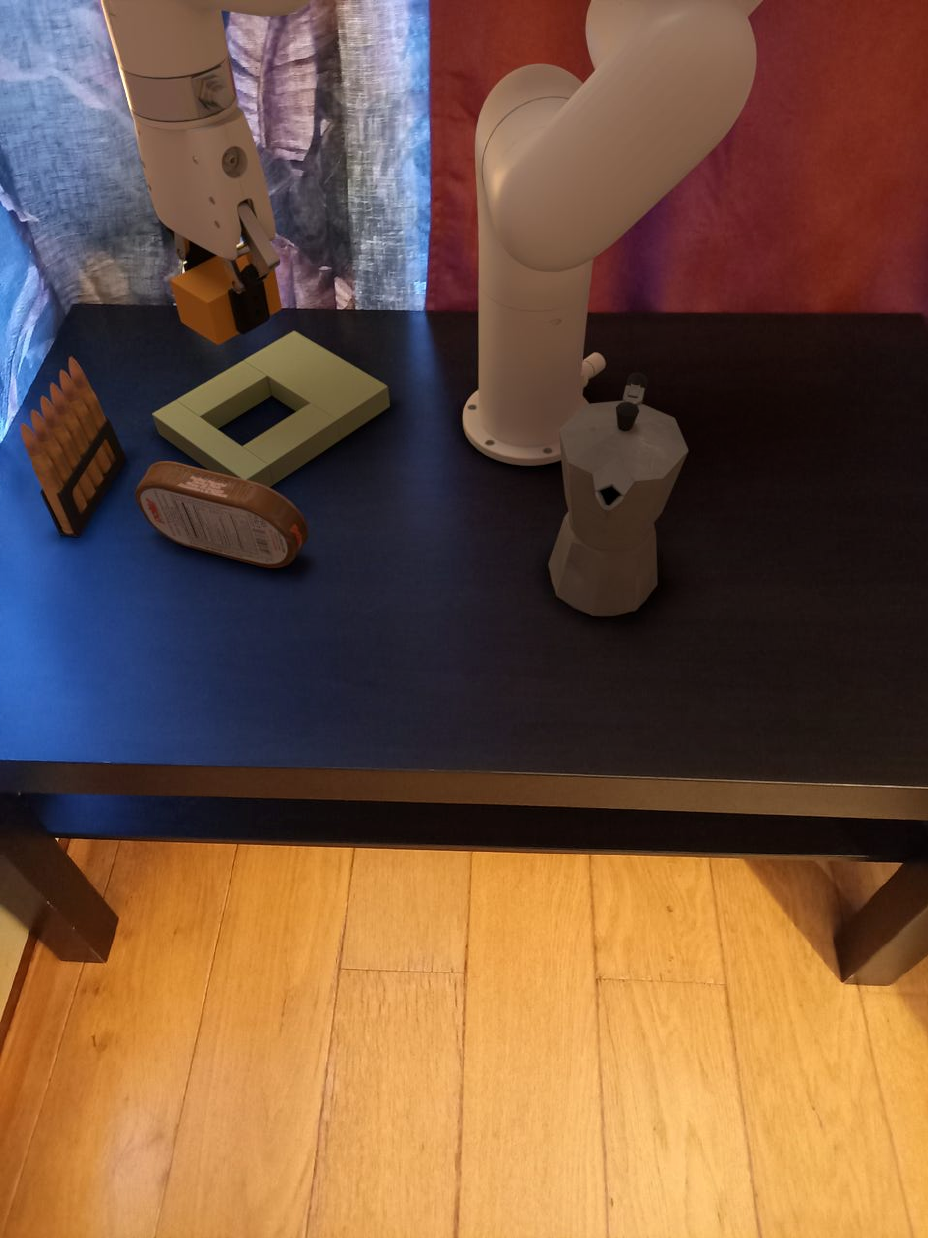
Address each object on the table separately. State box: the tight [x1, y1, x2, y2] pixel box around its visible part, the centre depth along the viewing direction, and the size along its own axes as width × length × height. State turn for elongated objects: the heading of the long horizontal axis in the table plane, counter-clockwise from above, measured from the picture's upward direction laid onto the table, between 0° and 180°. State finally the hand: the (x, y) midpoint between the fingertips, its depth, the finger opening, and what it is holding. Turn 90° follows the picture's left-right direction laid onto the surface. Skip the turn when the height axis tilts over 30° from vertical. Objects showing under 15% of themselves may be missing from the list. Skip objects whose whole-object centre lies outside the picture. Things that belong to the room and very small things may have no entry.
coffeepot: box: [547, 372, 689, 617], centre depth 73 cm, size 15×9×18 cm, turn 165°
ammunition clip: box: [20, 356, 127, 538], centre depth 82 cm, size 11×2×12 cm, turn 170°
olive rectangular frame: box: [151, 330, 391, 488], centre depth 92 cm, size 18×14×2 cm
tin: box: [134, 460, 309, 569], centre depth 79 cm, size 15×3×8 cm, turn 71°
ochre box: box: [169, 254, 283, 346], centre depth 79 cm, size 7×5×4 cm
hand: (231, 311), depth 80 cm, fingers closed on ochre box, 5 cm apart
